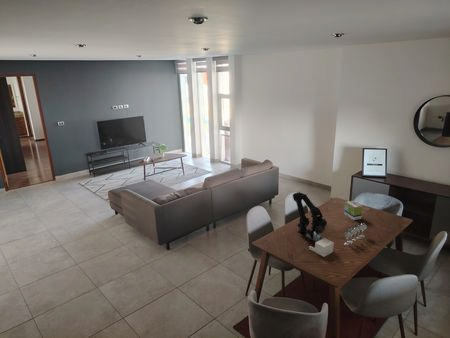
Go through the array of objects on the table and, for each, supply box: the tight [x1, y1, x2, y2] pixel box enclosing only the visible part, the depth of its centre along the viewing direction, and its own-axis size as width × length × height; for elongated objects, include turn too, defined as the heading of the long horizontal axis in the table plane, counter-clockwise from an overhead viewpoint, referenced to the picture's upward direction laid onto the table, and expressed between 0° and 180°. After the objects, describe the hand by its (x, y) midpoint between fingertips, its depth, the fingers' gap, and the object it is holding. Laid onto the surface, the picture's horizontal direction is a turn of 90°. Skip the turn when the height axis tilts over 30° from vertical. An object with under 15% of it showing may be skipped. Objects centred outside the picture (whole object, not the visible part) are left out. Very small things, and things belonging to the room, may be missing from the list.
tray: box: [305, 232, 324, 243], centre depth 278 cm, size 14×6×6 cm, turn 35°
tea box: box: [343, 200, 363, 221], centre depth 317 cm, size 15×10×15 cm, turn 17°
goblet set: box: [343, 222, 368, 246], centre depth 274 cm, size 28×6×13 cm, turn 124°
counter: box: [308, 237, 335, 258], centre depth 259 cm, size 15×12×9 cm
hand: (314, 237), depth 279 cm, fingers open, 6 cm apart
